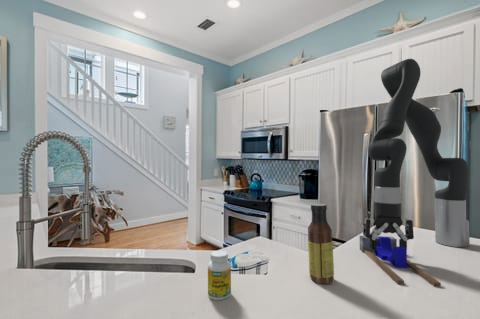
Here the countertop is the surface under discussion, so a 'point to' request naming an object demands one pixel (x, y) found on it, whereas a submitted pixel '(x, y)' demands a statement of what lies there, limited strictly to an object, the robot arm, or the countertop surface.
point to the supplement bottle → (219, 276)
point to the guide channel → (368, 251)
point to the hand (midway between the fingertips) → (387, 251)
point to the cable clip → (391, 253)
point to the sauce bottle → (320, 246)
